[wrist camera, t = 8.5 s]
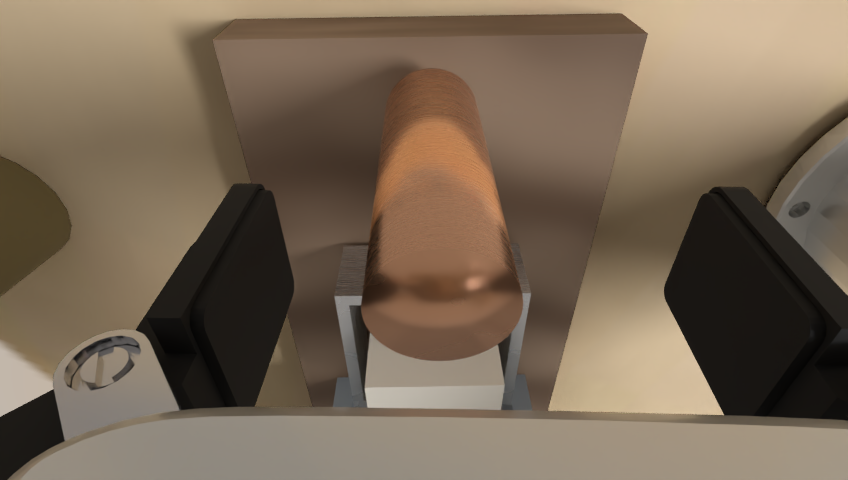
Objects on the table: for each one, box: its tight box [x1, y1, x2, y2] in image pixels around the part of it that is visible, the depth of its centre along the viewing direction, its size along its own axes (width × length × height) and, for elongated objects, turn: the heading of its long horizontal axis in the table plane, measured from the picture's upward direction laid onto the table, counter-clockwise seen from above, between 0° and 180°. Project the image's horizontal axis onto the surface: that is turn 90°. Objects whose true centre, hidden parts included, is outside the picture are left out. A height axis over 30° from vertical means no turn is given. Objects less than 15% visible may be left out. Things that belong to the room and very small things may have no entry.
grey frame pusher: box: [334, 68, 531, 407], centre depth 17 cm, size 15×7×10 cm, turn 1°
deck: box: [212, 14, 648, 411], centre depth 27 cm, size 35×14×2 cm, turn 1°
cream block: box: [365, 333, 505, 410], centre depth 21 cm, size 5×5×6 cm
